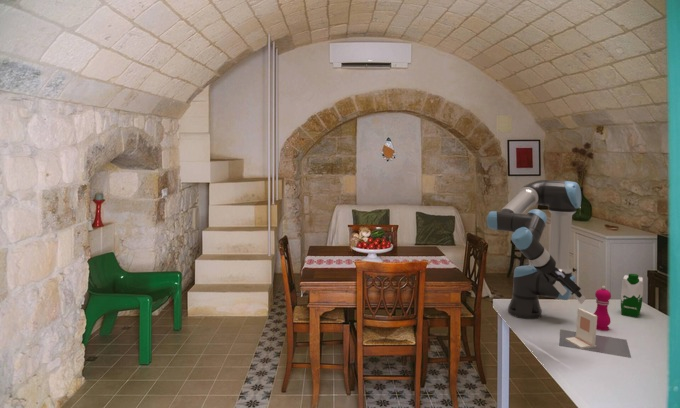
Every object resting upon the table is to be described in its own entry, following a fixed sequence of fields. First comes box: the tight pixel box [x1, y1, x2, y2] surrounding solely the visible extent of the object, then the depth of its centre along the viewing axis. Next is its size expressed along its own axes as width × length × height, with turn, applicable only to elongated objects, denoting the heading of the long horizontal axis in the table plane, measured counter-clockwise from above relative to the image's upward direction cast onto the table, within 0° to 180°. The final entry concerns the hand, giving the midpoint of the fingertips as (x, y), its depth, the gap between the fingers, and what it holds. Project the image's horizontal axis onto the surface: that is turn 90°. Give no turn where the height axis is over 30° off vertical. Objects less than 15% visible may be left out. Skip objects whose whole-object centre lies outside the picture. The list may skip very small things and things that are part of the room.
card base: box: [565, 337, 596, 350], centre depth 196 cm, size 7×9×1 cm
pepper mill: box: [593, 285, 612, 331], centre depth 211 cm, size 7×7×20 cm
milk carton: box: [620, 273, 645, 319], centre depth 231 cm, size 9×9×20 cm
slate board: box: [558, 328, 632, 359], centre depth 197 cm, size 19×25×1 cm
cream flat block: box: [575, 307, 597, 345], centre depth 195 cm, size 2×9×12 cm, turn 14°
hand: (573, 296), depth 192 cm, fingers open, 10 cm apart
